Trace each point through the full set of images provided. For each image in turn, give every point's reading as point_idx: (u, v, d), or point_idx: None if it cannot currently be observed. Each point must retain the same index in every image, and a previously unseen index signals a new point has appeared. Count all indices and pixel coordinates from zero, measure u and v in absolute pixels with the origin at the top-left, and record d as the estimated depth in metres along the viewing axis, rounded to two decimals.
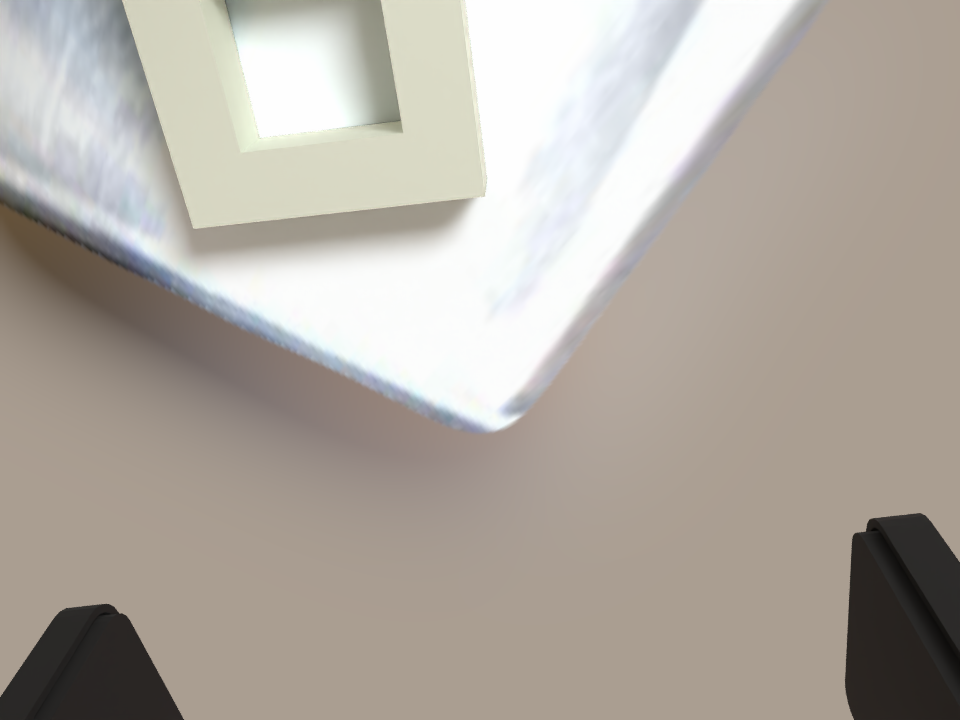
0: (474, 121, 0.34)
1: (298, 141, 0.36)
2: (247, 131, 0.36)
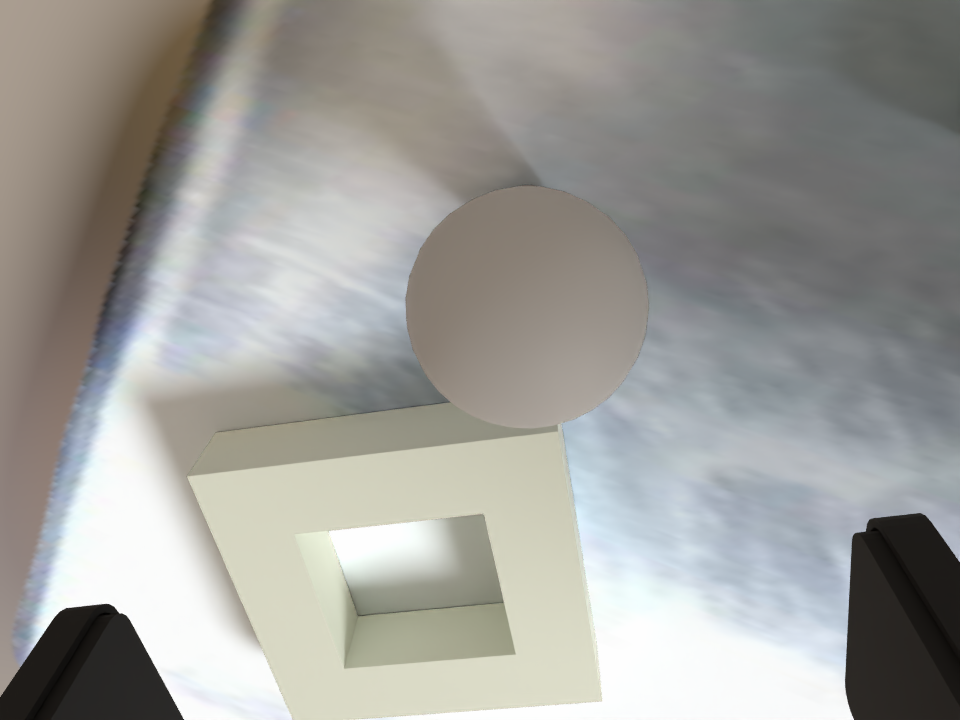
0: (365, 717, 0.35)
1: (317, 563, 0.32)
2: None
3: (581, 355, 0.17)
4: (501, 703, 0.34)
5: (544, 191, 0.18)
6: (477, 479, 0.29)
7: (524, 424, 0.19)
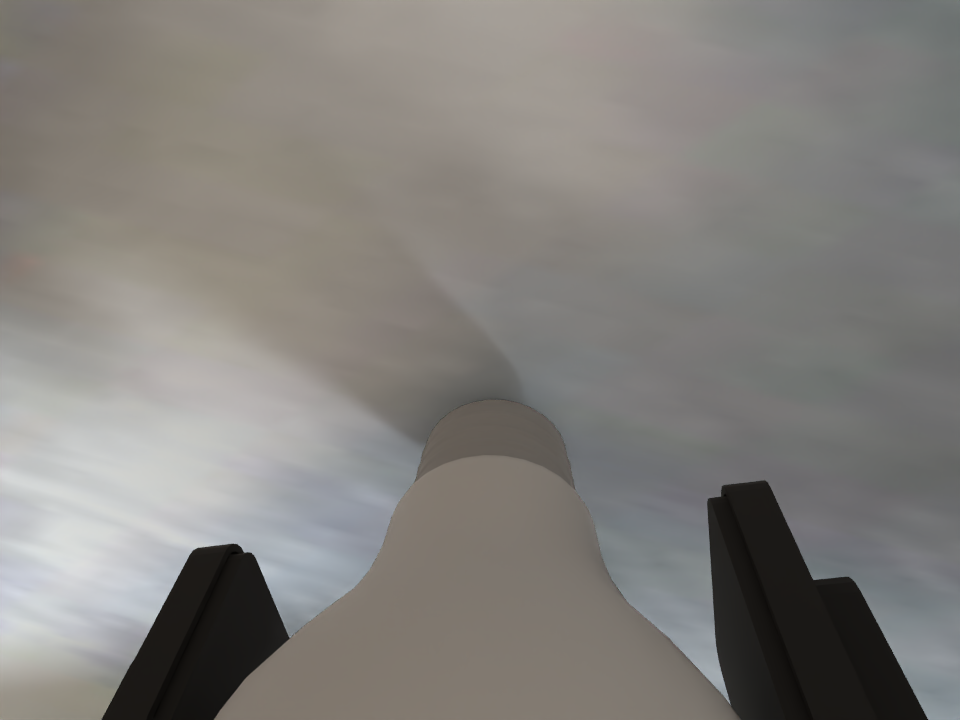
0: None
1: None
2: None
3: None
4: None
5: (522, 685, 0.06)
6: None
7: None
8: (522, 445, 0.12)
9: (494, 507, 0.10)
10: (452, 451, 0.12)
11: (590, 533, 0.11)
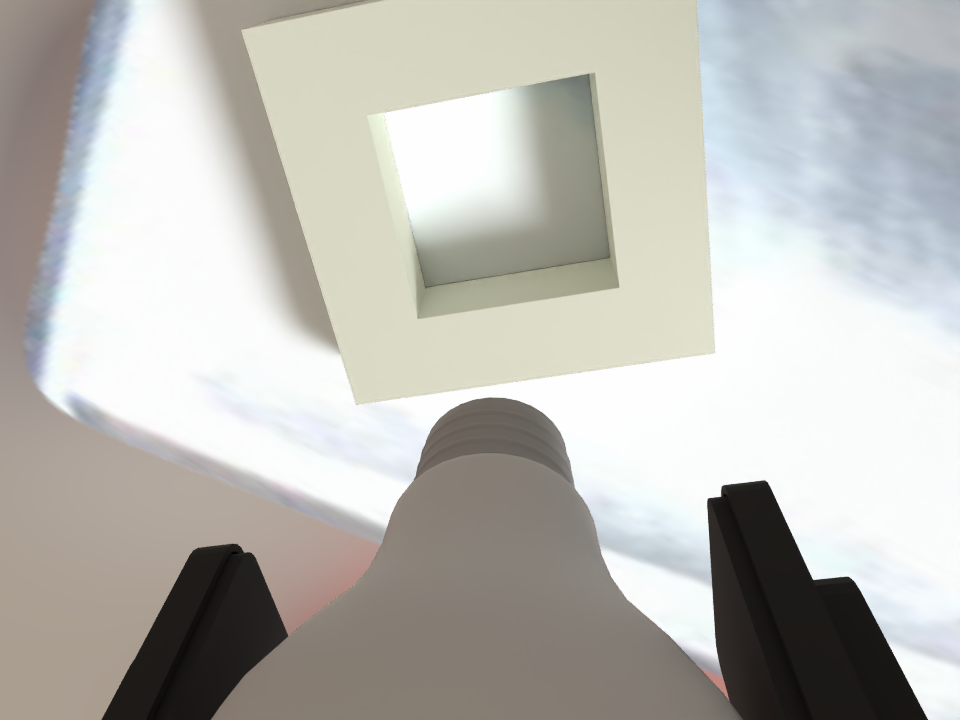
0: (439, 391, 0.31)
1: (388, 179, 0.28)
2: None
3: None
4: (597, 362, 0.30)
5: (521, 682, 0.06)
6: (591, 18, 0.24)
7: None
8: (522, 443, 0.12)
9: (494, 505, 0.10)
10: (452, 449, 0.12)
11: (590, 531, 0.11)
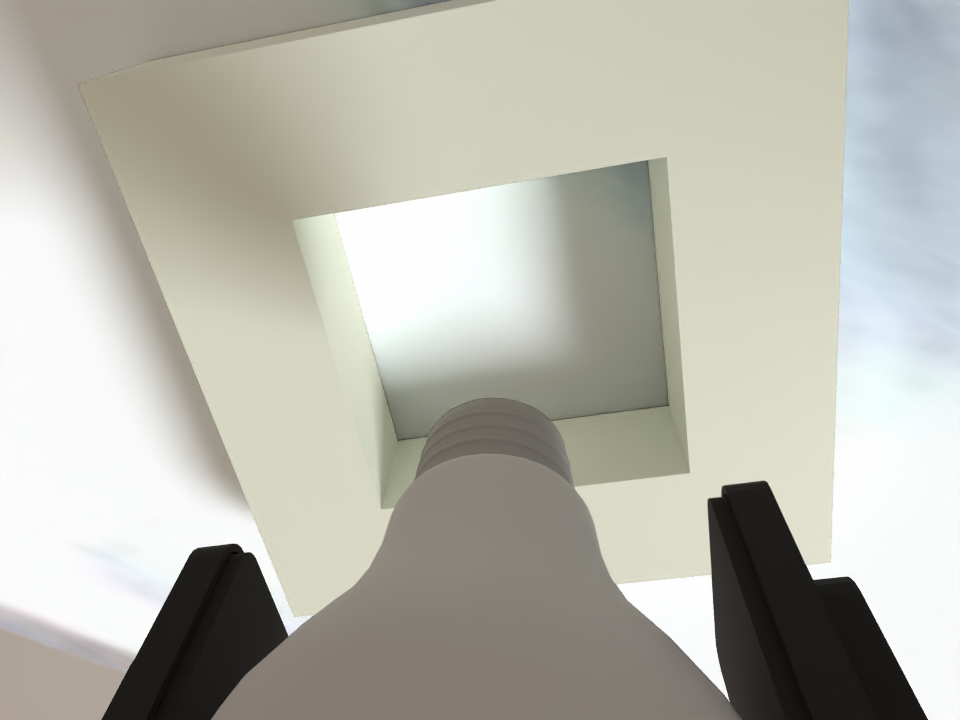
0: None
1: (334, 308, 0.18)
2: None
3: None
4: (652, 570, 0.20)
5: (521, 683, 0.06)
6: (663, 68, 0.14)
7: None
8: (522, 443, 0.12)
9: (494, 505, 0.10)
10: (451, 450, 0.12)
11: (590, 531, 0.11)
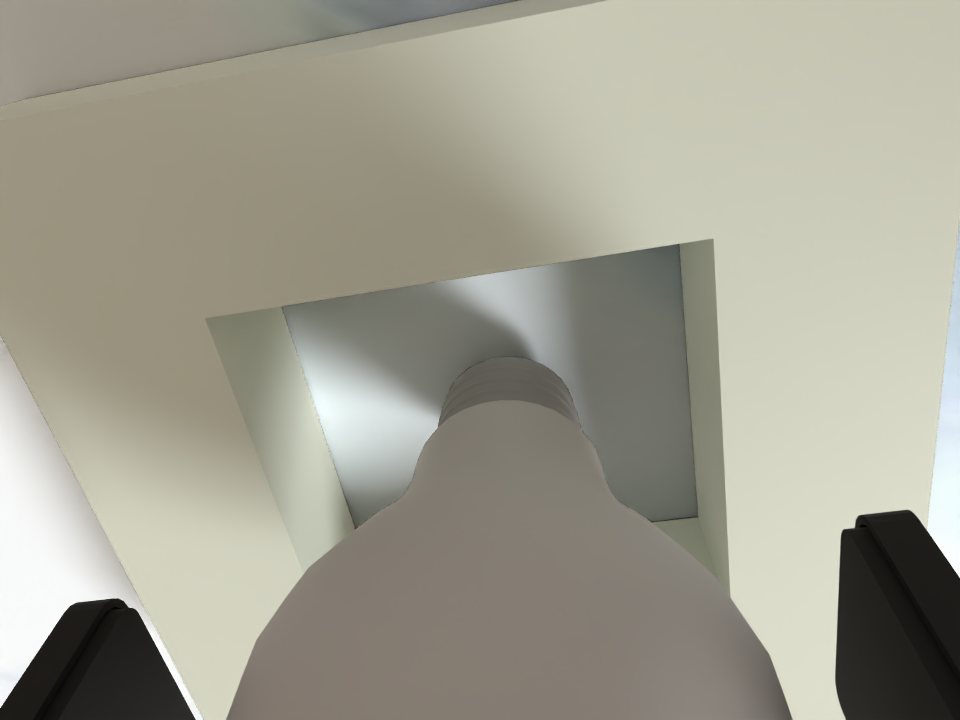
0: None
1: (272, 417, 0.14)
2: None
3: None
4: None
5: (550, 548, 0.07)
6: (712, 121, 0.10)
7: None
8: (535, 393, 0.13)
9: (514, 439, 0.11)
10: (472, 399, 0.13)
11: (598, 467, 0.12)
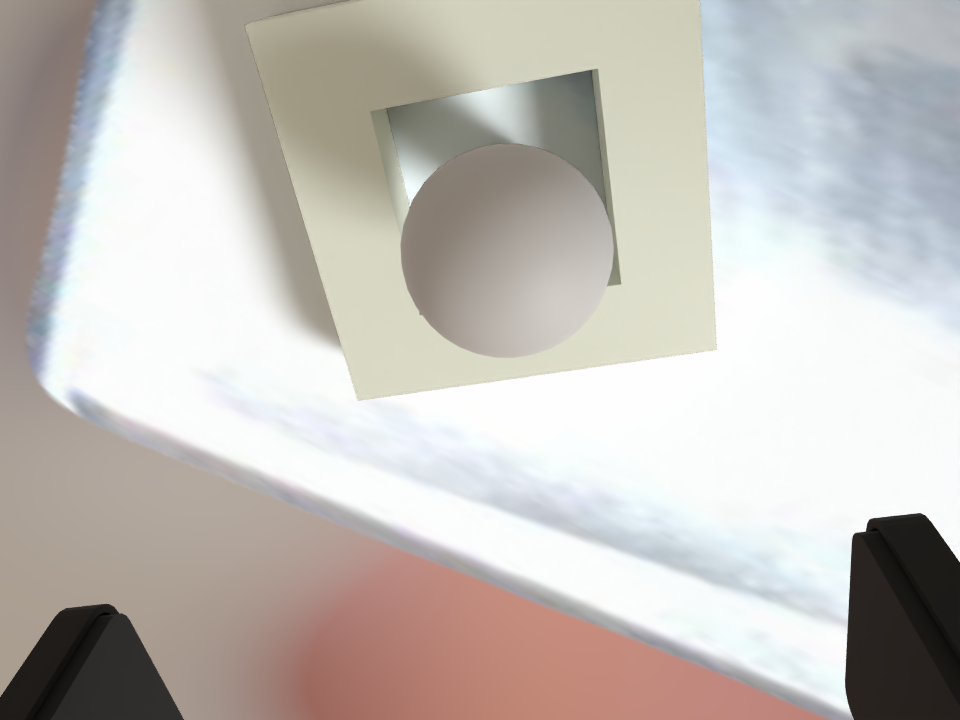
0: (440, 387, 0.31)
1: (391, 175, 0.28)
2: None
3: (553, 286, 0.20)
4: (599, 358, 0.30)
5: (520, 146, 0.21)
6: (594, 14, 0.24)
7: (506, 351, 0.22)
8: None
9: None
10: None
11: None
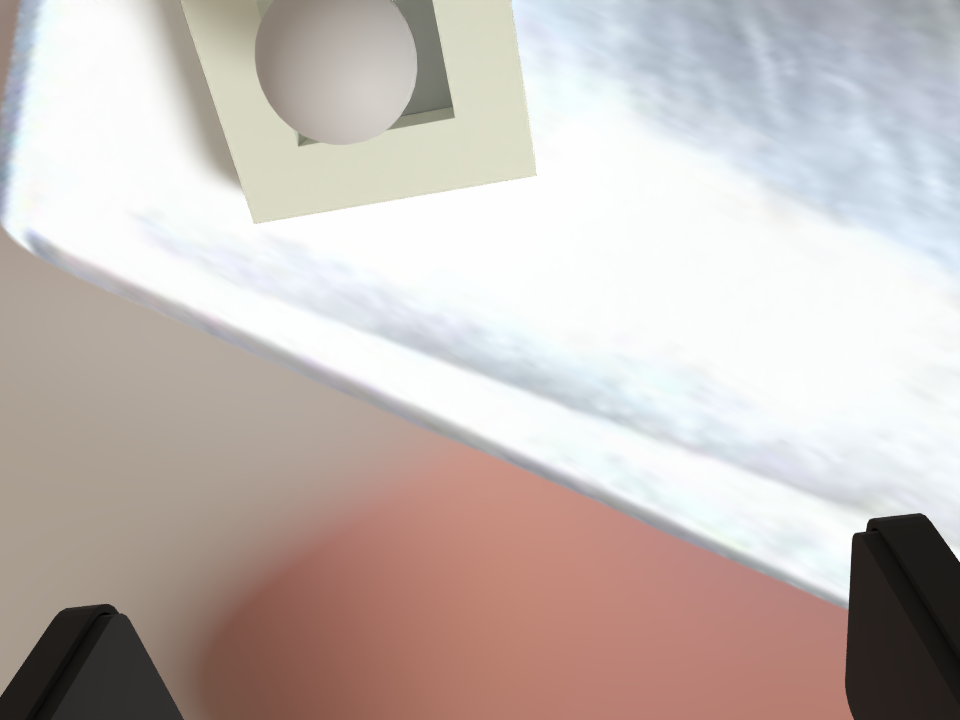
0: (319, 211, 0.38)
1: None
2: None
3: (356, 69, 0.27)
4: (444, 184, 0.37)
5: None
6: None
7: (331, 129, 0.29)
8: None
9: None
10: None
11: None
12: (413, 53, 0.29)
